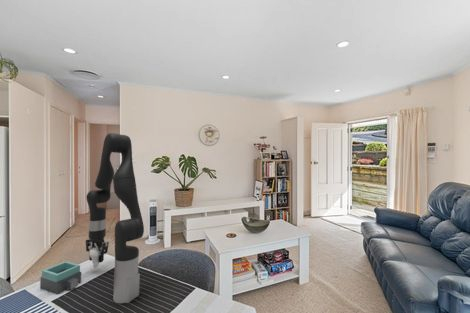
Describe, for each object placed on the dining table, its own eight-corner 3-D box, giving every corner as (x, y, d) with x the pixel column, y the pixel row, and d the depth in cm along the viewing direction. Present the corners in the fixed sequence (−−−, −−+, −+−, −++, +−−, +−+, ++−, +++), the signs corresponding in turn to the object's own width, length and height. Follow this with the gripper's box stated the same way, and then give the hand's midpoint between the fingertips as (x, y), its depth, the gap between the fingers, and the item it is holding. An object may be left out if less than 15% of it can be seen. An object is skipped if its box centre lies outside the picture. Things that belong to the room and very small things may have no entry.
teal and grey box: (85, 283, 101) (85, 266, 101) (61, 296, 92) (62, 277, 92) (64, 277, 106) (64, 260, 107) (40, 288, 97) (40, 270, 97)
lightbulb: (97, 271, 108) (98, 248, 108) (86, 270, 108) (86, 248, 108) (105, 265, 114) (106, 244, 114) (94, 265, 114) (95, 244, 115)
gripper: (114, 227, 113) (112, 260, 112) (94, 224, 118) (93, 255, 117) (100, 232, 106) (99, 266, 105) (80, 228, 111) (79, 261, 110)
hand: (96, 260), depth 111 cm, fingers closed on lightbulb, 5 cm apart
